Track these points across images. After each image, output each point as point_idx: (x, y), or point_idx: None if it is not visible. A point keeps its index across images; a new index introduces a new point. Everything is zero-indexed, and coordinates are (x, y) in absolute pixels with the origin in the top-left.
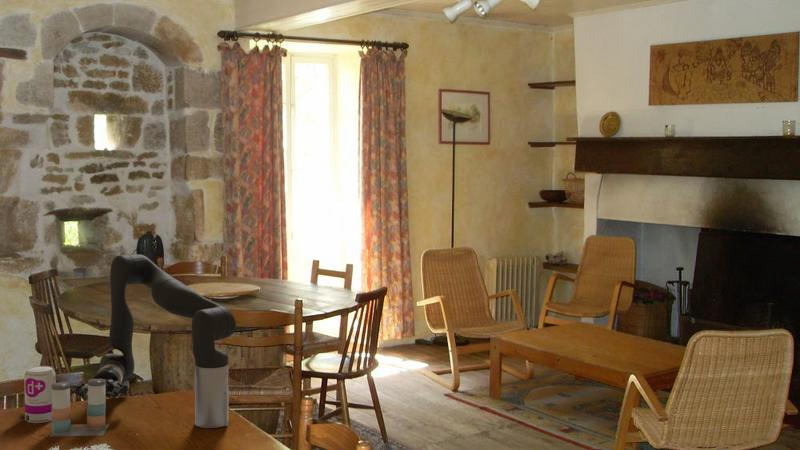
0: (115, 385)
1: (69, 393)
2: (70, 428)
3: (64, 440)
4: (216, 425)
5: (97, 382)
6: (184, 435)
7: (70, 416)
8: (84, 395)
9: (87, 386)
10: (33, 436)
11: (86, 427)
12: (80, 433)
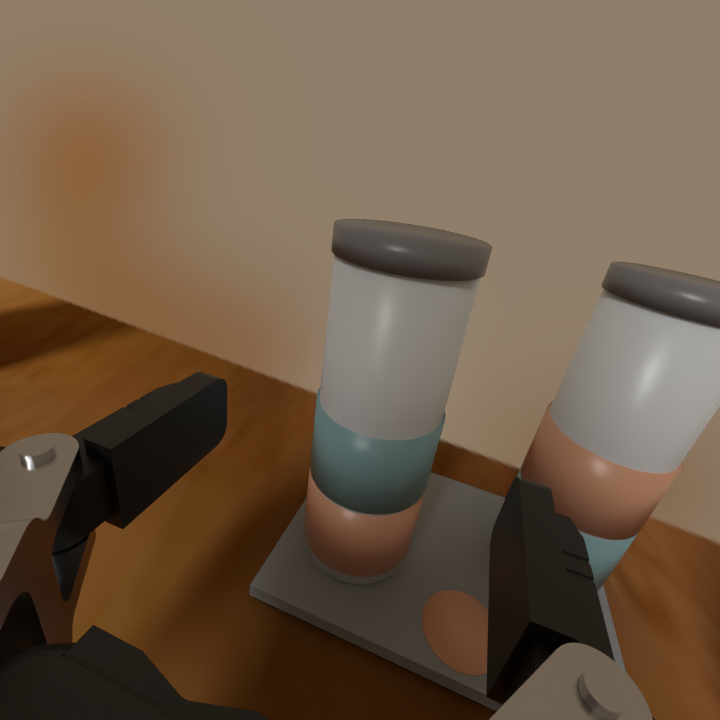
0: (27, 504)
1: (586, 328)
2: None
3: (501, 486)
4: None
5: (410, 225)
6: (70, 356)
7: (523, 465)
8: (499, 543)
9: (526, 683)
10: (696, 608)
11: (409, 576)
12: (440, 499)
